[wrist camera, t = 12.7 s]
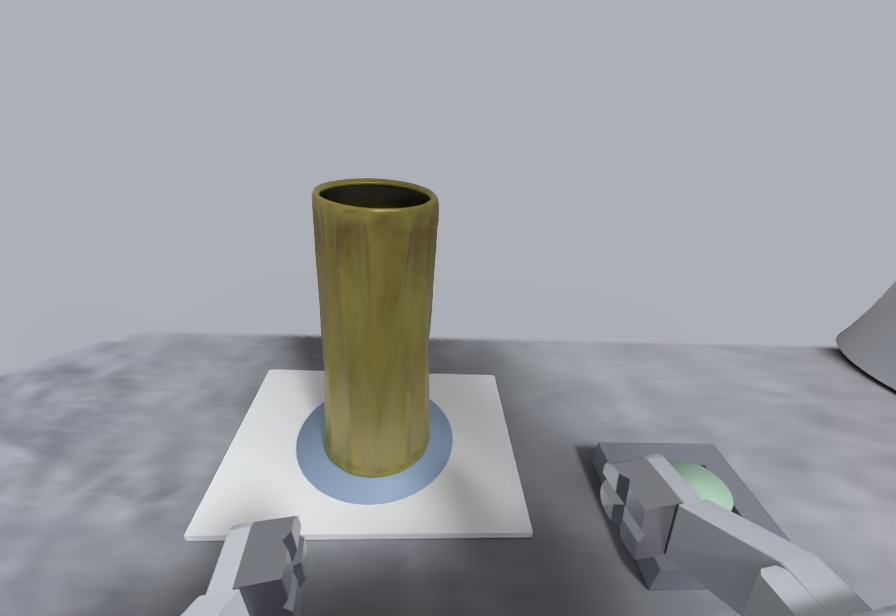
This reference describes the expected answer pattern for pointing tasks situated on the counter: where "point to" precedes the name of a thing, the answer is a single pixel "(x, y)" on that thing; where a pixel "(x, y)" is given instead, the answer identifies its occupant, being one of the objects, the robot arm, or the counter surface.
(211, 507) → the paper pad
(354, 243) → the vase
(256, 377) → the counter surface
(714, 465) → the button collar
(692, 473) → the button
